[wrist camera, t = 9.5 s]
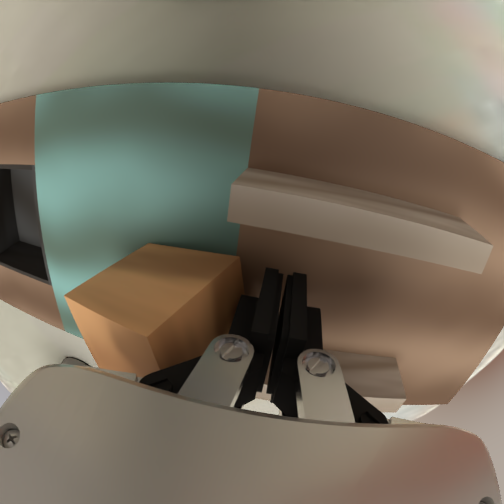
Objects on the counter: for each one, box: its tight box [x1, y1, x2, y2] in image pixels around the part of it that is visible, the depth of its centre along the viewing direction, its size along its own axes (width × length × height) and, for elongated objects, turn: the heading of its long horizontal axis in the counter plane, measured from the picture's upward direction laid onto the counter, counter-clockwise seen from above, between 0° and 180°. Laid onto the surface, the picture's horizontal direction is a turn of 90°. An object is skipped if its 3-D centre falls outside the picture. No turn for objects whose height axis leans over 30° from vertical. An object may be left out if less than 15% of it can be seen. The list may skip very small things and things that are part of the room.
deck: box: [0, 83, 504, 412], centre depth 14 cm, size 16×40×7 cm, turn 82°
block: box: [64, 243, 245, 377], centre depth 11 cm, size 5×5×5 cm
